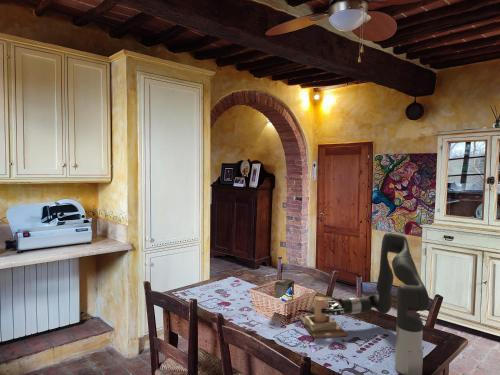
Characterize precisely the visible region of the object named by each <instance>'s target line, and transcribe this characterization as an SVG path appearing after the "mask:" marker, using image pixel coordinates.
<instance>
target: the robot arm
mask: <svg viewBox="0 0 500 375" xmlns="http://www.w3.org/2000/svg"><path fill="white" fill-rule="evenodd" d="M409 246H410V245H409V241H408V239H407V237H406V236H404V235H403V234H402V235H401V234H398V233H397V234H396V233H392V232H385V233H384V234H383V237H382V240H381V246H380V258H379V259H380V260H379V272H378V273H379V274H378V278H377V281H376V282H377V283H376V291H377V293H378V294H372V295H368V296H365V297H340V298H338V299H337V301H336V300H334V299H335V298H331V299H326V308H323V309H321V313H322V314H325V313H329V314H328V315H332V316H343V315H351V314H353V315H354V314H361V313H369V312H371V310H372V309H375V310H376V311H377V312H378V313H379V314H381V315H386V314H387V313H389V312H390V310H391V308H392V289H393V284H394V276H395V277H396V278H397V279H398V280H399V281H400V282H401V283H403V284H399V285H398V287H397V291H396V333H395V334H396V335H395V350H394V352H395V354H394V355H395V356H394V369H395V371H396V372H398V373H399V374H401V375H423V360H424V351H423V331H424V330H423V329H424V322H423V321H422V320H421V318H419V317H417V316H415V315H413V314H411V313H409V312H408V311H412V312H413V311H414V312H415V311H416V312H423V311H424V312H425V311H427V310H429V307H430V296H429V292H428V290H427V288H426V285H424V282H423V281H422V279H421V278H420V274H419V272H418V269H417V266H416V264H415V261H414V260H413V257H412V254H411V252H410V247H409ZM389 253H392V254H396V255H395V256H394V257H393V259H392V261H391V265H390V262H389V259H388V258H389V257H388V254H389ZM329 308H330V309H329Z"/></svg>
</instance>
